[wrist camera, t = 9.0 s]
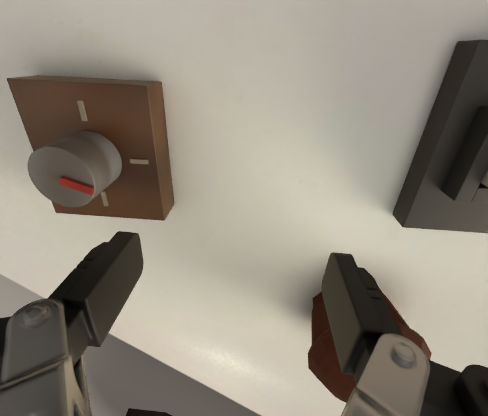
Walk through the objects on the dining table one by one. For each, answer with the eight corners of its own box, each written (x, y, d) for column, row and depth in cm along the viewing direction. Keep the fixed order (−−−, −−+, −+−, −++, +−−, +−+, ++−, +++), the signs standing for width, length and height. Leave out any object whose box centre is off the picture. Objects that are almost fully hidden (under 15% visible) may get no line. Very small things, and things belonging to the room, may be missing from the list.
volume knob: (65, 172, 22) (25, 196, 18) (67, 121, 20) (21, 137, 16) (118, 191, 22) (89, 218, 19) (125, 143, 20) (94, 163, 17)
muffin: (281, 311, 33) (287, 402, 24) (342, 254, 28) (377, 344, 19) (353, 347, 36) (382, 440, 27) (422, 300, 31) (484, 397, 22)
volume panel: (37, 75, 21) (3, 78, 18) (161, 81, 21) (146, 85, 18) (75, 197, 27) (54, 214, 24) (174, 204, 26) (164, 221, 24)
